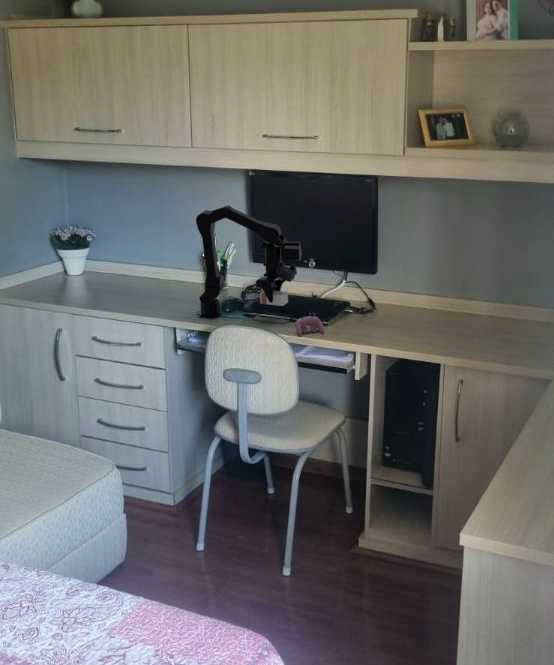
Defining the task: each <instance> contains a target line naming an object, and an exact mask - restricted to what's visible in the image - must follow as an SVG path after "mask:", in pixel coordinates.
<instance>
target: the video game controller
mask: <svg viewBox="0 0 554 665" xmlns="http://www.w3.org/2000/svg"><path fill="white" fill-rule="evenodd" d="M307 326H309V328H308V327H307ZM294 327H295V329H296V332H297V335H298V336H299V337H302V336H303V334H306V333H308V331H310V332H311V333H315V332H316V331H317V329H318V330H319V331H320V333H321V334H322V333H323V334H324V333H325V328H324V325H323V323H322V320H321V319H320V318H319V317H318V316H311V315H309V316H308V315H307V316H303V317H300V318H298V319H297V320H296V321H295V322H294Z"/></svg>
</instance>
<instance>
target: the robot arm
mask: <svg viewBox="0 0 554 665" xmlns="http://www.w3.org/2000/svg"><path fill="white" fill-rule="evenodd" d="M195 218H196V219H195V223H196V227H197V230H198V232H199V234H200V236H201V239H202V240H201V241H202V247H203V248H202V249H203V255H204V263H205V264H204V265H205V272H206V276H205V282H204V292H203V293H202V294H201V295H200V296H199V301H200V312H201V314H199V315H198V316H199V317H200V318H207V319H208V318H210V319H216V318H217V317H218V316H220V315H222V314H221V313H222V312H221V303H220V299H219V295H221V293H223V291H224V289H225V286H226V284H225V276H224V275H223V274H222V275H221V274H220V273H219V269H218V260H217V251H216V243H215V235H214V234H215V228H216V222H219V221H222V220H224V219H227V220H229V221H232V222H234V223H235V224H238V225H240V226H242V227H244V228H246V229H248V230H250V231H253V232H254V233H256V234H257V236H259V237H260V238H261V239H262V240H263V242H262V243H261V244H260V245H259V249H264V251H265V252H264V259H265V262H263V266H264V267H265V272H264V273H263V277H259V278H258V279H256V281H255V287H256V288H261V289H262V292H263V291H264V293H265V294H266V296H267V298H268V300H269V302H271V303H272V302H273V294H274V291H281V290H282V286H283V284H284V283H285V282H288V283H290V282H292V281H294V280H295V277H296V275H297V274H298V272H297V271H298V270H297V267H296V265H294V264H292V265H290V266H289V265H287V266H286V265H285V264H284V262H283V261H282V259H284V260H285V261H301V260H302V252H303V250H302V246H301V241H297V240H296V241H288V239H287V238H286V237H285V235H284V234H283V233H282V230H281V227H280V225H278V224H275V223H271V222H267V221H263V220H259V219H258V218H255V217H252V216H251V215H249V214H246V213H244V212H242V211H240V210H238V209H236V208H233V207H232V206H231V205H229V204H228V205H224V206H223V207H219V208H216V209H214V210H208V209H206V210H204V211H201V212H200V213H199V214H197V216H196V217H195Z"/></svg>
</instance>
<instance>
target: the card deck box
mask: <svg viewBox="0 0 554 665" xmlns="http://www.w3.org/2000/svg"><path fill="white" fill-rule="evenodd" d="M259 299H260V301H259V302H260V304H261V305H269V306H271V305H272V306H280V307H283V306H285V305H286V304H288V303H289V292H288V291H283V290H282V291H274V294H273V302H272V303H271V302H269V300H268V298H267V296H266V294H265V293H264V291H263V290H262V291H261V292H260V293H259Z"/></svg>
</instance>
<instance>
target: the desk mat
mask: <svg viewBox="0 0 554 665" xmlns="http://www.w3.org/2000/svg"><path fill="white" fill-rule="evenodd" d="M252 320H253V321H256V322H257V321H258V322H267V323H275V324H281V325H282V324H283V325H285V324H286V323H288V322H289V321H290V320H284V319H276V318H268V317H260V316H258V315H256V316H255V317H253V318H252Z"/></svg>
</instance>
